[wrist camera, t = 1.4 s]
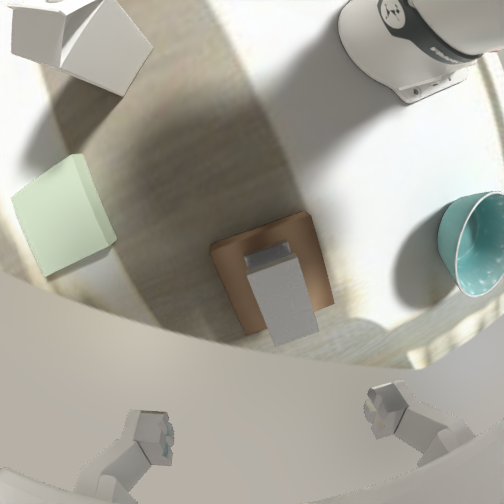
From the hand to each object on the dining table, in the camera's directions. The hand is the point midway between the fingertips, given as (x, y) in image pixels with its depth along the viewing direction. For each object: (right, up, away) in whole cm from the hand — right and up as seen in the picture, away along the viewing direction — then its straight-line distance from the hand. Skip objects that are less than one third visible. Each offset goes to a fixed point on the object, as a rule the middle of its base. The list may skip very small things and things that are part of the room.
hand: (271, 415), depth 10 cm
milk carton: (-17, +29, +17) cm, 38 cm away
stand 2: (+2, +4, +27) cm, 27 cm away
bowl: (+32, +10, +27) cm, 43 cm away
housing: (+2, +3, +24) cm, 24 cm away
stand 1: (-25, +11, +22) cm, 36 cm away
